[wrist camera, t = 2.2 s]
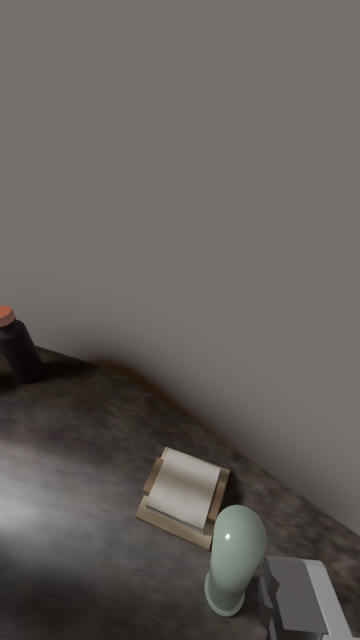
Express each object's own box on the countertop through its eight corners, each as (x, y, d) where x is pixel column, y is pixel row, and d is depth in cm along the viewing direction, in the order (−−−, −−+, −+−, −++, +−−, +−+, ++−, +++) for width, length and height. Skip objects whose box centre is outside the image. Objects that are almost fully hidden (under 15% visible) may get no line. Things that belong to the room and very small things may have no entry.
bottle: (34, 359, 82) (3, 299, 69) (51, 369, 79) (22, 308, 66) (11, 376, 78) (-25, 315, 65) (28, 387, 75) (-6, 326, 62)
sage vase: (239, 625, 42) (266, 586, 25) (199, 604, 44) (200, 555, 27) (247, 575, 46) (276, 513, 30) (211, 558, 48) (218, 490, 31)
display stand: (208, 551, 49) (209, 544, 46) (135, 518, 53) (132, 510, 50) (229, 473, 58) (230, 463, 55) (166, 449, 62) (164, 439, 59)
